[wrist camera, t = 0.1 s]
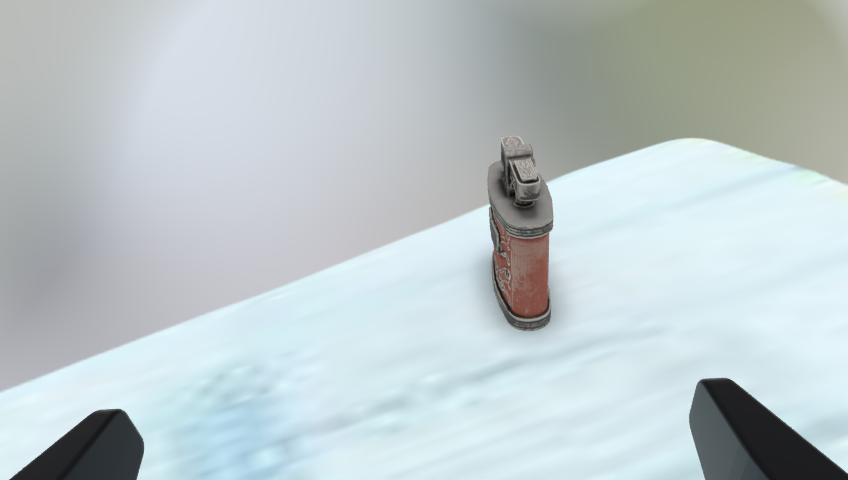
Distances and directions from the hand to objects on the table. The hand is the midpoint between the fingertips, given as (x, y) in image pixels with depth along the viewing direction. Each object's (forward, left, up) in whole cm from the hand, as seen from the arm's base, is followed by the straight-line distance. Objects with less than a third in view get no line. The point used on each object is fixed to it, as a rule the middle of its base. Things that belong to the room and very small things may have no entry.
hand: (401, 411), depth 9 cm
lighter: (+23, -4, -17) cm, 29 cm away
